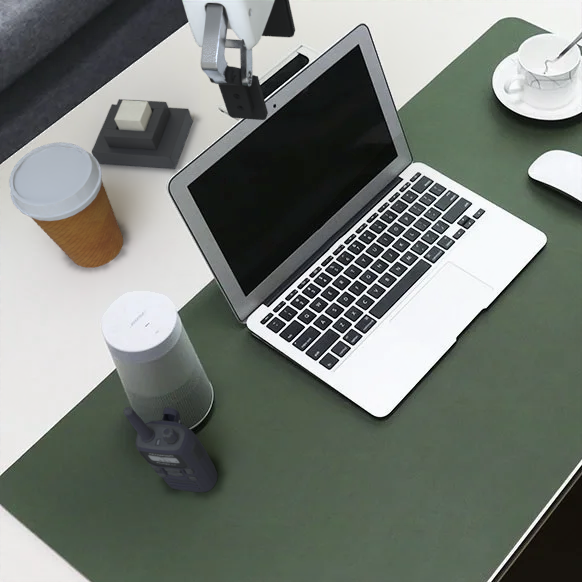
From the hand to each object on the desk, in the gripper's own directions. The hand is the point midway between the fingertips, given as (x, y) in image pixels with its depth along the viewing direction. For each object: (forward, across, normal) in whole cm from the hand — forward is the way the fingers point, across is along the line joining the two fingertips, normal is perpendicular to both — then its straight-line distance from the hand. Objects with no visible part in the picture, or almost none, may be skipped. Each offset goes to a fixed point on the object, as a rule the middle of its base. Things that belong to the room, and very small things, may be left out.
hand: (263, 74), depth 70 cm
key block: (+26, -15, -25) cm, 39 cm away
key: (+22, -15, -25) cm, 37 cm away
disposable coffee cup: (+26, +1, -26) cm, 37 cm away
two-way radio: (+26, +26, -6) cm, 37 cm away
